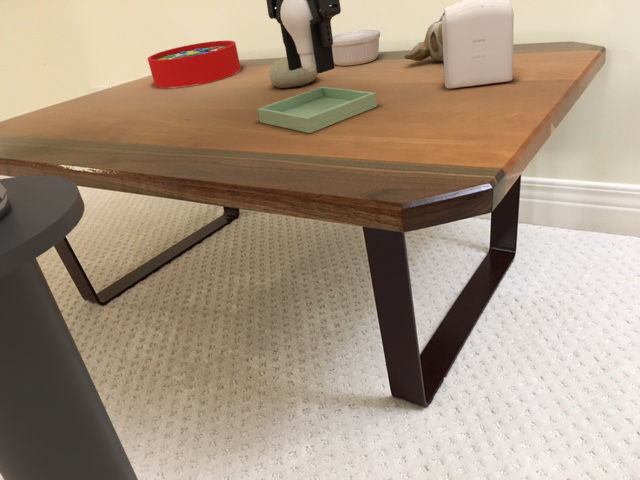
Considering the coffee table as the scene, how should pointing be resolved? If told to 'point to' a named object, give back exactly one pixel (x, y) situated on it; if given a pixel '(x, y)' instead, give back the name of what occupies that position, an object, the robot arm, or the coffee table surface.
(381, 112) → the coffee table surface
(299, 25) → the lightbulb
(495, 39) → the photo printer
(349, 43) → the ramekin
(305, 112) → the tray
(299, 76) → the sea urchin shell
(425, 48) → the ceramic sculpture
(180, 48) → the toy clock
